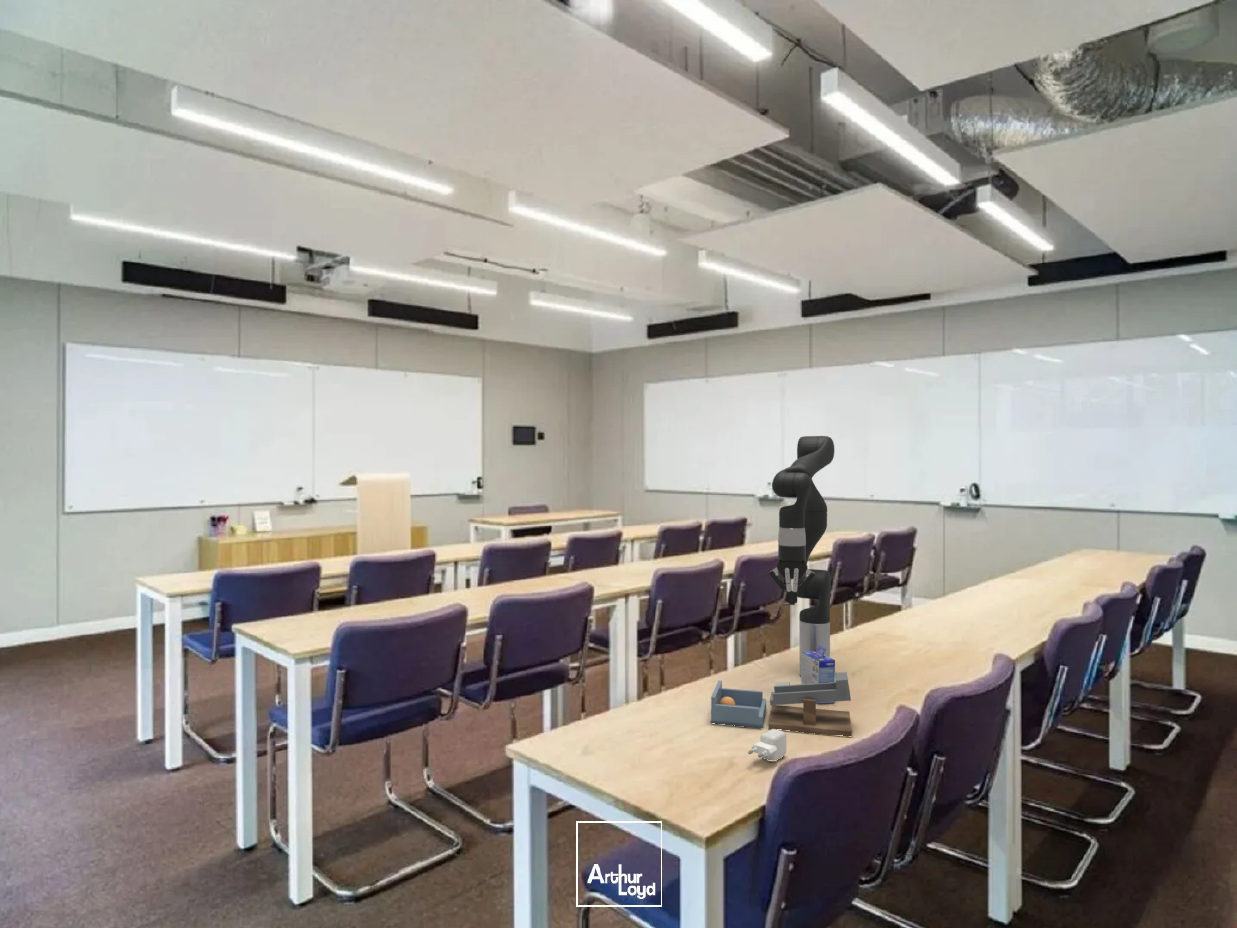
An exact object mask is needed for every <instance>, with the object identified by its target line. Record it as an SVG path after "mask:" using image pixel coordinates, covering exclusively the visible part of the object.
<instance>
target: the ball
mask: <svg viewBox="0 0 1237 928" xmlns="http://www.w3.org/2000/svg"><path fill="white" fill-rule="evenodd" d="M720 704H722V705H734V706H735V702H734V700H733V699H732V698H731V697H724V698H722V699H721V701H720Z"/></svg>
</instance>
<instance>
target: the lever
mask: <svg viewBox="0 0 1237 928" xmlns="http://www.w3.org/2000/svg"><path fill="white" fill-rule="evenodd" d="M803 699H815V700H816V704H817V703H818V702H834V703H835V702H849V701H852V699H851V690H850V684H849V678H848V672H847V671H844V672H842V671H841V672H835V682H829V683H814V684H801V683H800V684H791V683H790V681H783V682H782V681H781V682H774V685H773V690H772V691H771V693H770V696H769V705H770V706H772V705H780V706H785V705H796V704H797V705H798V704H803Z"/></svg>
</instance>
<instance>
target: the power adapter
mask: <svg viewBox="0 0 1237 928" xmlns="http://www.w3.org/2000/svg"><path fill="white" fill-rule="evenodd" d="M759 740H760V741H758V742H756V743H754V744H753V745H752V746H751V749H750V750H749V751H748V752H747V754H748V755H751V754H753V753H755V754H758V756H757V757H758V758H761V757H762V758H765V759H768V760H777V759H779V758H781V757H782V756H784V755H785V754H786V755H787V733H786V731H780V730H777V729H771V730H769V729H768V730H767V731H766V732H764V733H762V734H761V735H760V739H759ZM786 755H785V756H786ZM785 756H784V757H785ZM762 758H761V759H762ZM781 759H782V758H781Z"/></svg>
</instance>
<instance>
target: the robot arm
mask: <svg viewBox="0 0 1237 928" xmlns="http://www.w3.org/2000/svg"><path fill="white" fill-rule="evenodd" d="M834 443H835V442H834V440H833V439H832V437H830V436H828V435H812V436H811V435H810V436H809V435H808V436H807V435H806V436H805V435H804V436H800V438H799V439H798V441H797V444H796V459H795V460H793V462H792V464H790V466H788V467H786V468H784V469H782V470H780V471H779V472H777V473H776V474H775V476H774V477H773V479H772V483H771V487H772V491H773V493H774V494H775V495H776V496H777V497H780V498H792V499H793V498H794V499H796V500H795V502H794V504H790V505H784V506H781V507H780V508H779V511H778V518H779V519H778V520H779V521H778V538H777V547H778V550H777V552H778V553H777V554H778V555H777V556H778V557H777V559H778V561H777V563H776V567H775V568H773V569H771V570H770V571H769V576H770V577H771V578H772V580H773V581H774V583H776V584H777V586H778V587H779V588H780V590H784V591H785V592H786V602H787V604H788V605H789V606H796V605H795V604H797V603H798V598H799V599H809V600H818V603H817V604H816V605H814V606H811V607H808V608H803V609H802V610H800V611H799V616H798V619H799V620H798V622H799V625H798V626H799V632H798V633H799V675H800V674H801V672H802V652H816V651H817V649H818V647H819V646H821V647H823V648H825V649H826V651H825V653H824V655H826V656H828V657H830V658H831V589H832V577H831V574H830V572H829V571H828V570H826V569H815V568H814V569H813V568H808V560H809V559H810V556H811V554H812V552H813V550H814V548H816V546H817V544H818V542H819V541H820V540H821V539H822V538H823V535H824V534H825V532H826V530H827V528H828V527H827V526H828V506H827V502H826V501H825V499H824V497H823V495H822V494H821V493H820V491H819V490H818V488H817V486H816V485H815V483H814V481H813V477H814V476H815V475H816V473H819V472H820V471H821V470H822V469H823V468H826V467H827V466H828V465H830V464H831V463H832V461H833V460H834V457H835V444H834ZM779 573H780V575H781V576H782V578H784V579H785V583H784V582H783V581H782V579H781V578H780V577H779ZM792 580H793V581H792ZM792 583H793V584H792ZM819 652H821V653H823V650H822V649H819Z"/></svg>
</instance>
